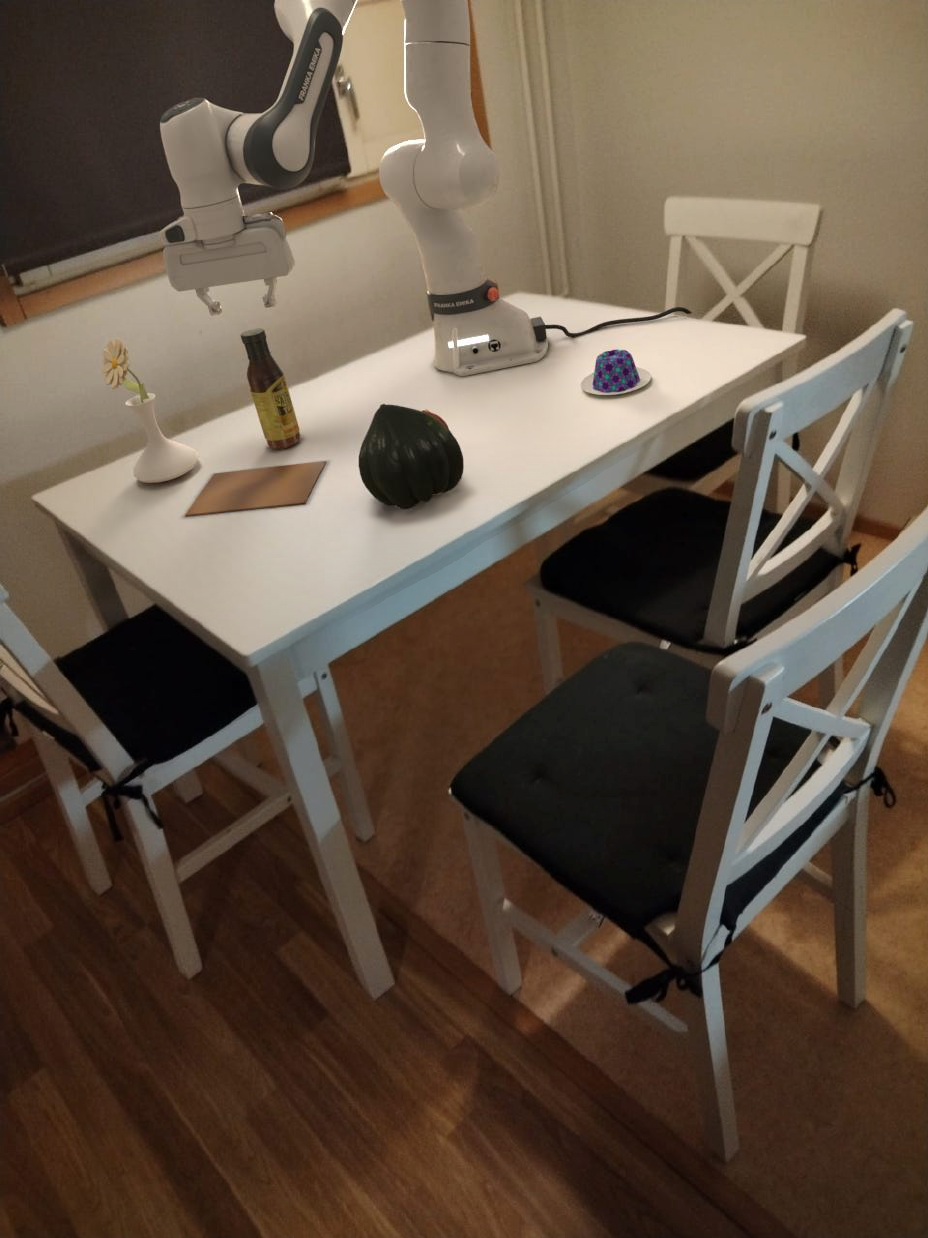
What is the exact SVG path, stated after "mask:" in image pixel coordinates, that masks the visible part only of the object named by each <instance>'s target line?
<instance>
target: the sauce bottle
mask: <svg viewBox="0 0 928 1238" xmlns="http://www.w3.org/2000/svg"><path fill="white" fill-rule="evenodd" d="M240 339H241V342H242V344H243V345H244V349H245V351H246V355H247V359H248V361H249V362H248V366H247V371H246V378H247V382H248V385H249V388H250V390H249V391H250V393H251V397H252V401H253V404H254V407H255V410H256V413H257V417H258V420H259V425H260V427H261V430H262V433H263V436H264V439H265V440H266V443H267V446H268V447H269V448H270V449H273V450H283V449H284V450H285V449H287V448H289V447H292V446H294V445H296V444H297V443H299V442H300V440H301V432H300V430H301V429H300V426H299V422H298V418H297V416H296V411H295V407H294V404H293V402H292V401H293V400H292V398H291V394H290V390H289V387H288V384H287V380H286V377H285V376H286V375H285V373H284V372H283V370H282V369H281V368H280V366H279V364H278V363H277V361H276V360H275V358H274V357H273V355H272V352H271V351H270V348H269V344H268V341H267V333H266V331H265V329H264V328H261V327H257V328H252V329H247V330H246V331H243V332H242V333H240Z"/></svg>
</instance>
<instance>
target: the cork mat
mask: <svg viewBox="0 0 928 1238" xmlns="http://www.w3.org/2000/svg"><path fill="white" fill-rule="evenodd" d="M326 463H327V461H326V460H322V461H321V460H320V461H313V462H304V463H295V464H286V465H277V466H270V467H269V466H268V467H260V468H251V469H242V470H234V471H223V472H215V473H213V474H212V475H211V477H210V478H209V480H208V481H207V483H206V484H205V486H204V487H203V488H202V490H201V492H200V493H199V494H198V496H197V497H196V499H195V500H194V501H193V503H192V504H191V505H190V507H189V509H188V510H187V511H186V513H185V514H184V515H185V517H192V516H202V515H210V514H220V513H230V512H241V511H249V510H251V511H252V510H259V509H260V510H261V509H270V508H279V507H287V506H288V507H289V506H297V505H306V503H307V501H308V499H309V497H310V495H311V494H312V491H313V489H314V487H315V485H316V483H317V482H318V480H319V477H320V475H321V474H322V471H323V470H324V467H325V465H326Z"/></svg>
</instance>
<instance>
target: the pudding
mask: <svg viewBox="0 0 928 1238" xmlns="http://www.w3.org/2000/svg"><path fill="white" fill-rule="evenodd" d="M651 379H652V374H651V373H650V372H649V371H648V370H647V369H644V368H642V367H637V366H636V363H635V360H634V357H633V355H632V354H631V352H629V351H628V350H626V349H611V350H606V351H603V352H602V353H599V355H597V357H596V359H595V364H594V371H593V372H591V373H590V374H588V375H587V376H585V377H584V378H583V379H582V380H581V382H580V388H581V389H582V390H583V391H584V392H585V393H586V392H587V393H588V394H593V395H600V396H613V395H622V394H626V393H630V392H633V391H636V390H639V389H641V388H643V387H644V386H646V385H647V384H648V383H649V382H650V381H651Z"/></svg>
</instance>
